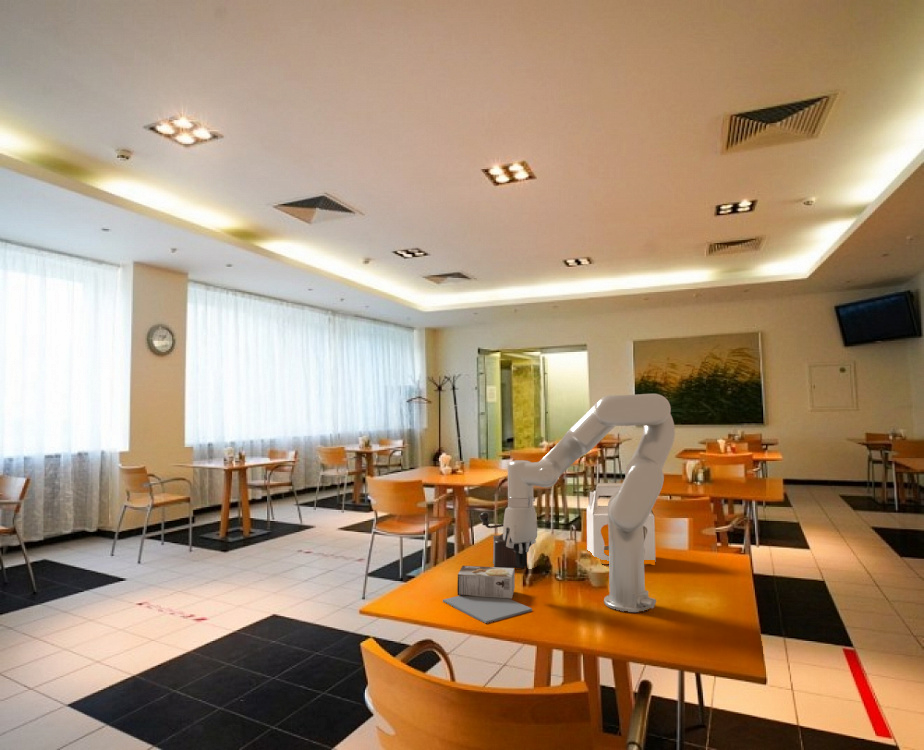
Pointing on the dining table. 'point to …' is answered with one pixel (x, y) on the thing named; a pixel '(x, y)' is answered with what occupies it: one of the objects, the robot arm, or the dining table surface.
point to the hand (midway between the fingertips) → (521, 565)
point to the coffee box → (486, 582)
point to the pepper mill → (500, 547)
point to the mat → (487, 607)
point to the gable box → (599, 518)
